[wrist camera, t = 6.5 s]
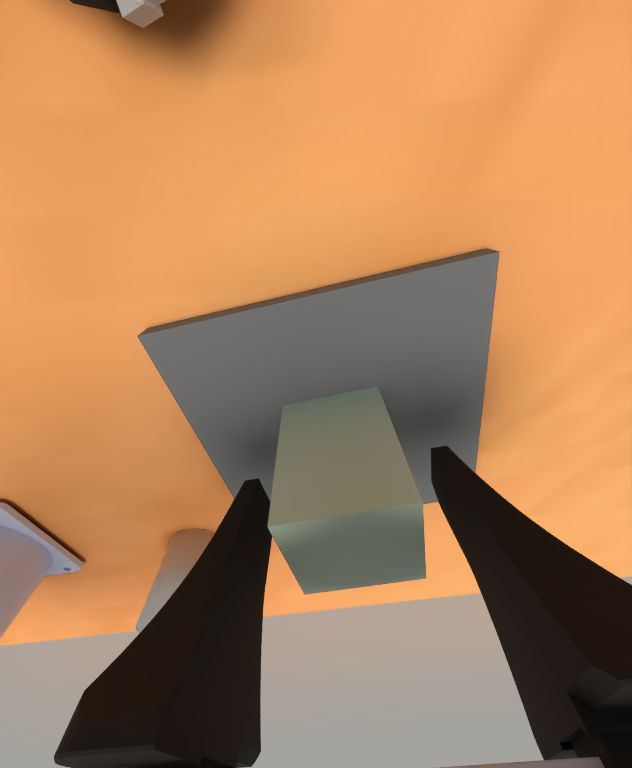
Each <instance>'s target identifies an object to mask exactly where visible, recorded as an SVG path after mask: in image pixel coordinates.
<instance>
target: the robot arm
mask: <svg viewBox="0 0 632 768" xmlns="http://www.w3.org/2000/svg"><path fill="white" fill-rule="evenodd" d="M431 482H432V485H433V488H434V490H435V493H436V496H437V499H438V501H439V504H440V506H441V509H442V511H443V513H444V515H445V517H446V519H447V521H448V523H449V525H450V527H451V529H452V531H453V533H454V535H455V537H456V539H457V541H458V543H459V545H460V547H461V549H462V551H463V553H464V555H465V557H466V559H467V561H468V563H469V565H470V567H471V569H472V572H473V574H474V576H475V578H476V581H477V583H478V586H479V588H480V591H481V593H482V596H483V598H484V601H485V603H486V606H487V609H488V611H489V614H490V616H491V619H492V621H493V624H494V627H495V629H496V632H497V635H498V637H499V640H500V642H501V645H502V648H503V651H504V653H505V656H506V659H507V661H508V664H509V667H510V670H511V672H512V675H513V678H514V681H515V683H516V686H517V689H518V692H519V695H520V697H521V700H522V703H523V706H524V709H525V712H526V715H527V717H528V720H529V723H530V726H531V729H532V732H533V735H534V738H535V740H536V742H537V745H538V747H539V749H540V752H541V754H542V757H543V759H544V760H543V761H529V762H514V763H499V764H485V765H470V766H455V767H441V768H632V585H631V584H629V583H627V582H625V581H624V580H622V579H620V578H619V577H617V576H615V575H614V574H612V573H610V572H609V571H607V570H606V569H604V568H602V567H601V566H599V565H598V564H596V563H594V562H593V561H591V560H590V559H588V558H587V557H585V556H583V555H582V554H580V553H579V552H577V551H575V550H574V549H572V548H571V547H569V546H568V545H566V544H565V543H563V542H562V541H560V540H559V539H558V538H556V537H555V536H553V535H552V534H550V533H549V532H547V531H546V530H545V529H543V528H542V527H540V526H539V525H538V524H536V523H535V522H534V521H532V520H531V519H530V518H528V517H527V516H526V515H524V514H523V513H522V512H520V511H519V510H518V509H517V508H515V507H514V506H513V505H512V504H510V503H509V502H508V501H507V500H506V499H504V498H503V497H502V496H501V495H500V494H498V493H497V492H496V491H495V490H494V489H493V488H491V487H490V486H489V485H488V484H487V483H486V482H485V481H484V480H482V479H481V478H480V477H479V476H478V475H477V474H476V473H475V472H474V471H473V470H472V469H471V468H469V467H468V466H467V465H466V464H465V463H464V462H463V461H462V460H461V459H460V458H459V457H458V456H457V455H456V454H455V453H454V452H453V451H452V450H451V449H450V448H449V447H448V446H441V447H435V448H431ZM270 503H271V502H270V500H269V498H268V496H267V494H266V492H265V490H264V488H263V486H262V484H261V482H260V480H259V478H257V479H251V480H245V481H244V483H243V484H242V486H241V488H240V490H239V492H238V494H237V496H236V497H235V499H234V501H233V503H232V505H231V506H230V508H229V510H228V512H227V514H226V515H225V517H224V519H223V520H222V522H221V524H220V526H219V527H218V529H217V531H216V532H215V534H214V536H213V537H212V539H211V540H210V542H209V543H208V545H207V547H206V548H205V550H204V551H203V553H202V554H201V556H200V557H199V559H198V560H197V562H196V563H195V565H194V566H193V567H192V569H191V570H190V572H189V573H188V574H187V576H186V577H185V579H184V580H183V581H182V583H181V584H180V585H179V587H178V588H177V589H176V590H175V592H174V593H173V594H172V595H171V597H170V598H169V599H168V601H167V602H166V603H165V604H164V606H163V607H162V608H161V609H160V610H159V612H158V613H157V614H156V615H155V616H154V618H153V619H152V620H151V621H150V622H149V623H148V624H147V625H146V627H145V628H144V629H143V630H142V631H141V632H140V634H139V635H138V636H137V637H136V638H135V639H134V640H133V642H131V644H130V645H129V646H128V647H127V648H126V649H125V650H124V651H123V652H122V653H121V655H119V656H118V657H117V658H116V659H115V661H113V662H112V663H111V664H110V666H108V668H107V669H106V670H105V671H104V672H103V673H102V674H101V675H100V676H99V677H98V678H97V679H96V680H95V681H94V682H93V683H92V684H91V685H90V686H89V687H88V688H87V689H86V690H85V691H84V693H83V695H82V697H81V699H80V701H79V703H78V705H77V707H76V710H75V712H74V714H73V716H72V718H71V721H70V723H69V725H68V727H67V729H66V731H65V734H64V736H63V738H62V740H61V742H60V745H59V747H58V749H57V751H56V753H55V755H54V760H55V763H56V764H58V765H61V766H66V767H71V768H239V767H240V768H241V767H251V766H252V765H253V764H254V763H255V761H256V759H257V758H258V756H259V754H260V752H261V741H260V739H261V738H260V681H261V678H260V677H261V643H262V620H263V602H264V592H265V585H266V577H267V570H268V563H269V556H270V548H271V541H272V534H271V533H270V531H269V529H268V519H269V511H270ZM83 565H84V563H83V562H82V561H81V560H79V559H78V558H77V557H75V556H74V555H73V554H72V553H70V552H69V551H68V550H66V549H65V548H64V547H62V546H61V545H60V544H59V543H57V542H56V541H55V540H53V539H52V538H51V537H50V536H48V535H47V534H46V533H44V532H43V531H42V530H41V529H39V528H38V527H37V526H35V525H34V524H33V523H31V522H30V521H29V520H28V519H26V518H25V517H24V516H22V515H21V514H20V513H19V512H17V511H16V510H15V509H13V508H12V507H11V506H9V505H8V504H6V503H2V502H0V638H1V637H2V635H3V634H4V633H5V631H6V630H7V628H8V627H9V625H10V624H11V623H12V621H13V620H14V618H15V617H16V616H17V614H18V613H19V611H20V610H21V609H22V607H23V606H24V604H25V603H26V601H27V600H28V599H29V597H30V596H31V594H32V593H33V592H34V590H35V589H36V587H37V586H38V585H39V583H40V582H41V580H42V579H43V577H44V576H49V575H56V574H63V573H69V572H76V571H80V570H81V569H82V567H83Z"/></svg>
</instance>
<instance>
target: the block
mask: <svg viewBox="0 0 632 768" xmlns="http://www.w3.org/2000/svg"><path fill="white" fill-rule="evenodd" d="M268 529H269V531H270V533H271V534H272V536H273V538H274V540H275V542H276V544H277V545H278V547H279V549H280V551H281V553H282V554H283V556H284V558H285V560H286V562H287V563H288V565H289V567H290V569H291V571H292V572H293V574H294V576H295V578H296V580H297V582H298V583H299V585H300V587H301V589H302V591H303V592H304V594H313V593H320V592H328V591H335V590H343V589H350V588H358V587H365V586H373V585H380V584H388V583H395V582H403V581H410V580H418V579H425V578H426V564H425V542H424V519H423V502H422V499H421V497H420V494H419V492H418V489H417V486H416V484H415V481H414V479H413V476H412V473H411V471H410V468H409V466H408V463H407V460H406V458H405V455H404V453H403V450H402V448H401V445H400V442H399V440H398V437H397V435H396V432H395V429H394V427H393V424H392V422H391V419H390V416H389V414H388V411H387V409H386V406H385V404H384V401H383V398H382V396H381V393H380V391H379V388H378V386H377V387H372V388H367V389H362V390H357V391H352V392H347V393H342V394H337V395H332V396H327V397H322V398H317V399H312V400H307V401H302V402H297V403H292V404H287V405H283V407H282V415H281V423H280V431H279V439H278V447H277V455H276V463H275V471H274V479H273V487H272V495H271V503H270V511H269V519H268Z"/></svg>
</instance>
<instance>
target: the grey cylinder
mask: <svg viewBox="0 0 632 768" xmlns="http://www.w3.org/2000/svg"><path fill="white" fill-rule="evenodd" d="M214 534H215V533H214V532H211V531H208V530H203V529H186V530H182V531H180V532H177V533H176V534H175V535H173V537H172V539H171V541H170V543H169V546H168V548H167V551H166V553H165V556H164V558H163V561H162V563H161V566H160V568H159V570H158V573H157V575H156V578H155V580H154V583H153V585H152V588H151V590H150V593H149V595H148V597H147V600H146V602H145V605H144V607H143V610H142V612H141V615H140V617H139V620H138V622H137V624H136V629H137V631H138V632H139V633H140V632H141V631H142V630H143V629H144V628H145V627H146V625H147V624H148V623H149V622H150V621H151V620H152V619H153V618H154V616H155V615H156V614H157V613H158V612H159V610H160V609H161V608H162V607H163V606H164V604H165V603H166V602H167V601H168V599H169V598H170V597H171V595H172V594H173V593H174V592H175V590H176V589H177V588H178V587H179V585H180V584H181V583H182V581H183V580H184V579H185V577H186V576H187V574H188V573H189V572H190V570H191V569H192V567H193V566H194V565H195V563H196V562H197V560H198V559H199V557H200V556H201V554H202V553H203V551H204V550H205V548H206V547H207V545H208V543H209V542H210V540H211V539H212V537H213V536H214Z"/></svg>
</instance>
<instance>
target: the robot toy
mask: <svg viewBox="0 0 632 768" xmlns="http://www.w3.org/2000/svg"><path fill="white" fill-rule="evenodd" d="M70 1H71V2H73V3H75V4H79V5H84V6H88V7H93V8H97V9H102V10H106V11H111V12H115V13H119V12H121V15H122V18H124V19H126V20H128V21H130V22H132V23H134V24H136V25H138V26H140V27H141V28H144V27H146V26H147V25H149V24H151V23H152V22H154V21H156V20H157V19H159V18H160V17H162V16H164V14H163V11H162V8H161V5H160V4H162V3H163V2H165V1H166V0H70Z"/></svg>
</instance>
